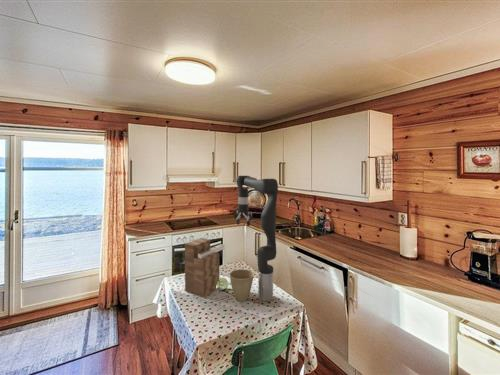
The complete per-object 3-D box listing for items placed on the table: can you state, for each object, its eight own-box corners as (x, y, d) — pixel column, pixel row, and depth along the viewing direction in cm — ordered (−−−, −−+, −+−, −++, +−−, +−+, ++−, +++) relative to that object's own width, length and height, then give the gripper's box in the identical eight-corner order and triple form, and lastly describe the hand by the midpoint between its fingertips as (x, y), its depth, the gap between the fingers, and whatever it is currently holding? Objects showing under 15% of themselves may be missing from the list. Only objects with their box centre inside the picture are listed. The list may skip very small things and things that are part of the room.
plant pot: (255, 294, 160) (256, 270, 159) (249, 306, 146) (249, 280, 144) (234, 291, 164) (234, 267, 163) (226, 302, 150) (226, 277, 148)
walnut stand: (201, 281, 177) (201, 237, 174) (219, 287, 169) (219, 241, 166) (185, 291, 163) (184, 243, 161) (203, 297, 155) (203, 248, 153)
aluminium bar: (220, 248, 178) (220, 243, 177) (224, 248, 176) (224, 244, 176) (197, 258, 157) (197, 253, 157) (201, 259, 155) (201, 254, 155)
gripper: (232, 202, 179) (232, 224, 180) (249, 204, 172) (248, 227, 173) (238, 201, 186) (237, 223, 187) (254, 203, 178) (254, 225, 180)
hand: (243, 225), depth 180 cm, fingers open, 8 cm apart
